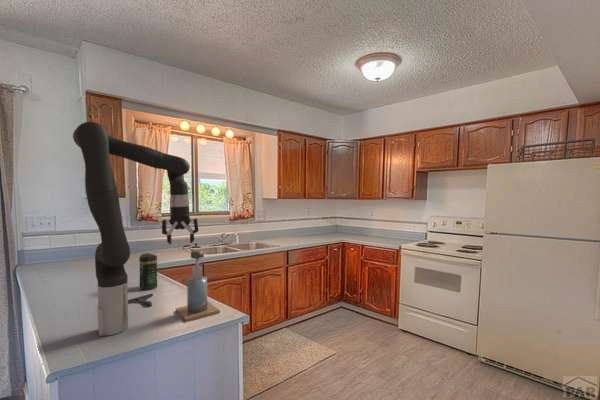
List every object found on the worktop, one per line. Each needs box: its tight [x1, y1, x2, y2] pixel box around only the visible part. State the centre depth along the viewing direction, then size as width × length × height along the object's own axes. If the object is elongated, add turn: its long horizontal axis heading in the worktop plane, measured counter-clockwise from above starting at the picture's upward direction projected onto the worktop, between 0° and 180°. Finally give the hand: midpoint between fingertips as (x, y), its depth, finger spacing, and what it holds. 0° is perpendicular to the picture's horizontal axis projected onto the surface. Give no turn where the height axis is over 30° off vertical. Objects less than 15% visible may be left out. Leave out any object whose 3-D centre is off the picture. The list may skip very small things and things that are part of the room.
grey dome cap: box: [190, 250, 205, 268], centre depth 121 cm, size 5×8×7 cm, turn 39°
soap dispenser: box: [175, 265, 221, 323], centre depth 123 cm, size 14×14×19 cm
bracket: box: [128, 293, 154, 308], centre depth 134 cm, size 14×15×3 cm
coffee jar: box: [138, 252, 158, 291], centre depth 156 cm, size 10×8×19 cm
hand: (181, 243), depth 124 cm, fingers open, 8 cm apart
